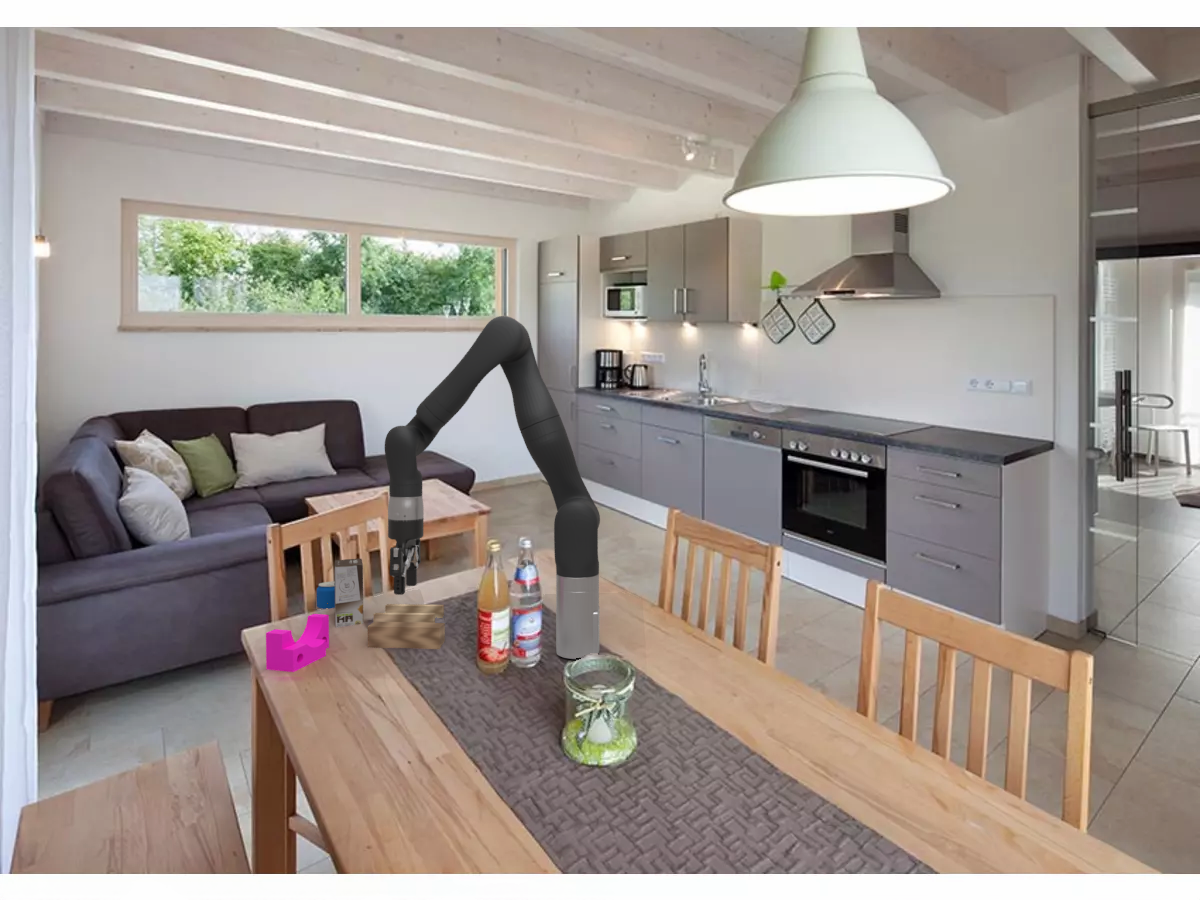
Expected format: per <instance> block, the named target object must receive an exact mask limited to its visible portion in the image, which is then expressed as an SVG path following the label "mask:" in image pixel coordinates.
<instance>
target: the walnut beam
mask: <svg viewBox="0 0 1200 900" xmlns="http://www.w3.org/2000/svg"><path fill="white" fill-rule="evenodd" d="M445 626H446V625H445V623H428V622H374V621H373V622H371V623H370V624H369V625H368V626H367V648H372V649H373V648H374V649H418V650H419V649H423V650H424V649H425V650H441V648H442V647H443V645H444V643H445V642H446V638H445V637H446V633H445V632H446V627H445Z"/></svg>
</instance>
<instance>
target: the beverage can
mask: <svg viewBox="0 0 1200 900" xmlns="http://www.w3.org/2000/svg"><path fill="white" fill-rule="evenodd" d="M327 603H328V604H327ZM316 607H317V608H318V609H323V610H326V608H328V609H329V610H330V609H335V580H334V581H325V582H320V583H318V587H317V588H316ZM328 609H327V610H328Z"/></svg>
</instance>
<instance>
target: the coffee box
mask: <svg viewBox="0 0 1200 900" xmlns="http://www.w3.org/2000/svg"><path fill="white" fill-rule="evenodd" d="M334 581H335V608H334V622H335V623H334V624H335V628H344V627H350V626H356V625H362V624H364V564H363V559H362V558H348V559H335V560H334Z"/></svg>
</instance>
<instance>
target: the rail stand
mask: <svg viewBox="0 0 1200 900" xmlns="http://www.w3.org/2000/svg"><path fill="white" fill-rule="evenodd" d="M384 609H385V610H384V612H374V613H373V617H372V618H373V622H428V623H435V618H436V617H437V618H443V616H444V617H445V604H424V603H423V604H419V603H418V604H417V603H415V604H410V603H409V604H407V603H405V604H404V603H401V604H400V603H396V604H395V603H390V604H389V603H386V604H385V605H384Z"/></svg>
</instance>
